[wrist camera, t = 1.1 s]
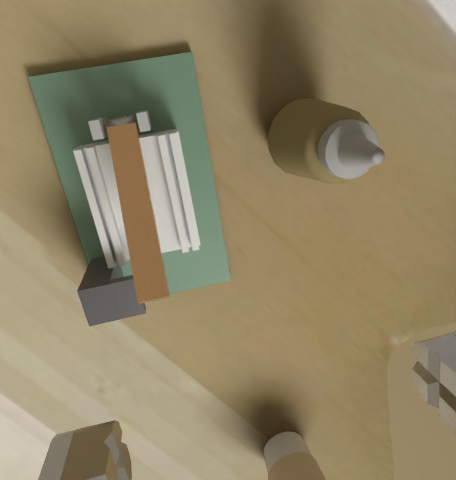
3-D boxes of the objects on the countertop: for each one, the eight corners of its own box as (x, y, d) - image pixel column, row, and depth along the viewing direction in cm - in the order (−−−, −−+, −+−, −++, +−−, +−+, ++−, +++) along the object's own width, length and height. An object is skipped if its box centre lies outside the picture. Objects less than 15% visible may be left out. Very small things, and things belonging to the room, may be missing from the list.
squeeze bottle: (319, 88, 42) (424, 80, 26) (332, 158, 45) (433, 192, 29) (251, 110, 42) (312, 116, 25) (268, 179, 45) (333, 226, 28)
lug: (90, 259, 43) (77, 291, 36) (139, 249, 44) (135, 278, 37) (100, 289, 45) (89, 326, 38) (147, 279, 45) (145, 313, 38)
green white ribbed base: (30, 77, 37) (0, 72, 30) (191, 52, 39) (198, 42, 32) (103, 304, 47) (93, 340, 40) (229, 276, 48) (241, 306, 41)
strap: (108, 123, 35) (104, 116, 34) (136, 119, 36) (133, 111, 34) (140, 303, 32) (137, 302, 31) (170, 296, 33) (168, 296, 31)
